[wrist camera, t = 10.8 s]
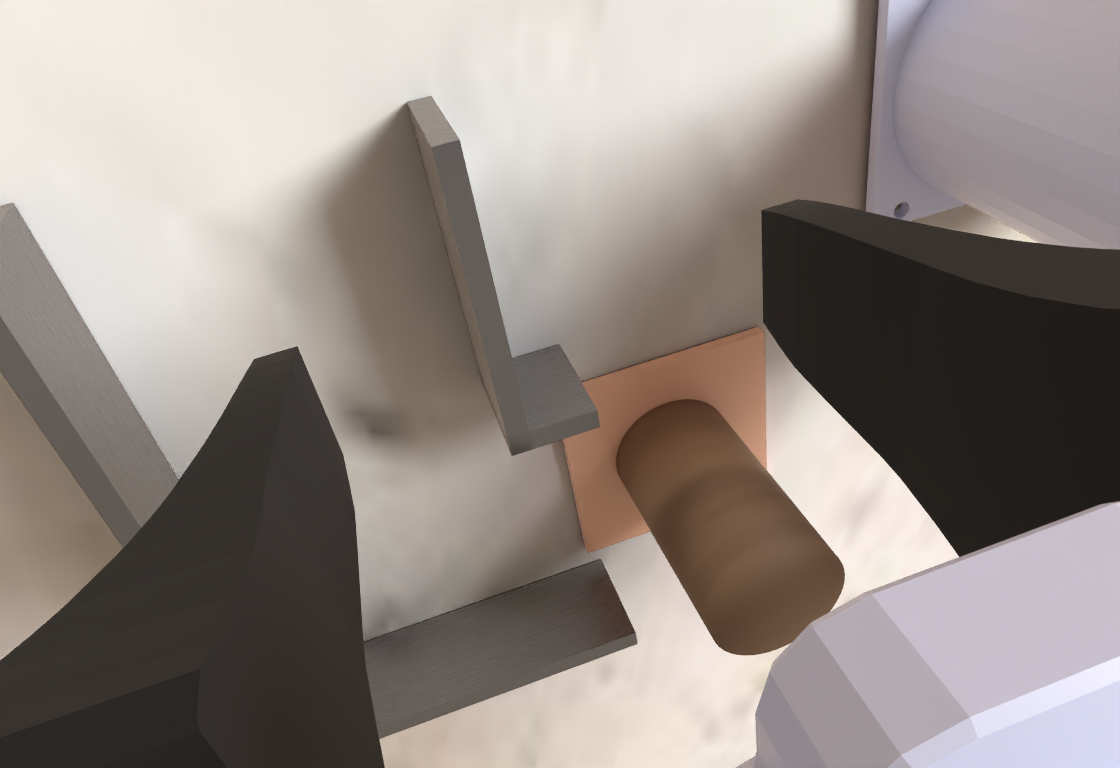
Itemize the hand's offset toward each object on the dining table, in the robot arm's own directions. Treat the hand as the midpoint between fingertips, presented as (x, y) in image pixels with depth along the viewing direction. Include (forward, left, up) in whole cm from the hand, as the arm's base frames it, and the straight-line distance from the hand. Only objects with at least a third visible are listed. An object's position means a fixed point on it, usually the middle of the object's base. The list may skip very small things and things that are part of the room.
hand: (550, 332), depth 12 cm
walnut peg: (-5, +12, -10) cm, 16 cm away
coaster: (-5, +12, -10) cm, 16 cm away
